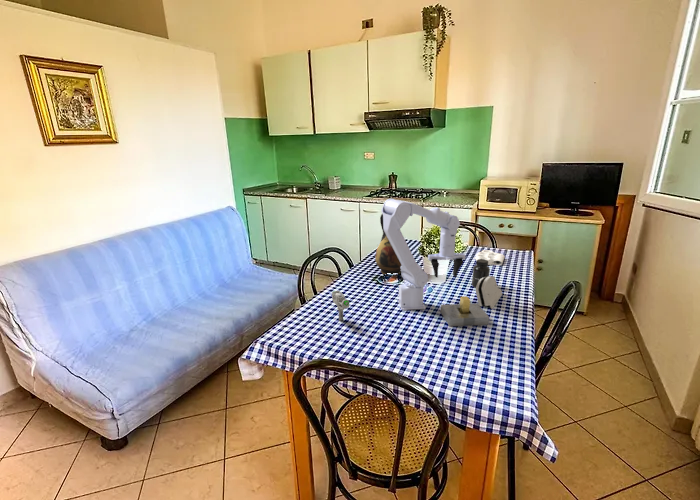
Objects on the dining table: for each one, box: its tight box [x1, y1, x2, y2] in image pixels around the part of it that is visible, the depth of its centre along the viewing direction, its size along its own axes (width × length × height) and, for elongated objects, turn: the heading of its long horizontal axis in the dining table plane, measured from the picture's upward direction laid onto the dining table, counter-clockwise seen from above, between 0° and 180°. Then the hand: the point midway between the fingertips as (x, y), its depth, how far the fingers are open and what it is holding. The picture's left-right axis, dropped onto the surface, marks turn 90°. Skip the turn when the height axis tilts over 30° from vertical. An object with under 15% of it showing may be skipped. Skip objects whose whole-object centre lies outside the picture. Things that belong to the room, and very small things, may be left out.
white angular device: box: [475, 275, 503, 310], centre depth 148 cm, size 17×5×10 cm, turn 145°
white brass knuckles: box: [473, 249, 506, 266], centre depth 193 cm, size 3×18×15 cm
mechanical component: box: [331, 290, 350, 322], centre depth 133 cm, size 3×10×10 cm, turn 27°
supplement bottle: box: [471, 259, 491, 289], centre depth 160 cm, size 7×7×12 cm
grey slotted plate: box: [440, 302, 490, 327], centre depth 134 cm, size 14×11×3 cm
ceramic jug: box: [374, 213, 402, 275], centre depth 176 cm, size 17×15×30 cm
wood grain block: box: [459, 295, 471, 314], centre depth 133 cm, size 2×3×8 cm
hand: (445, 276), depth 149 cm, fingers open, 7 cm apart
